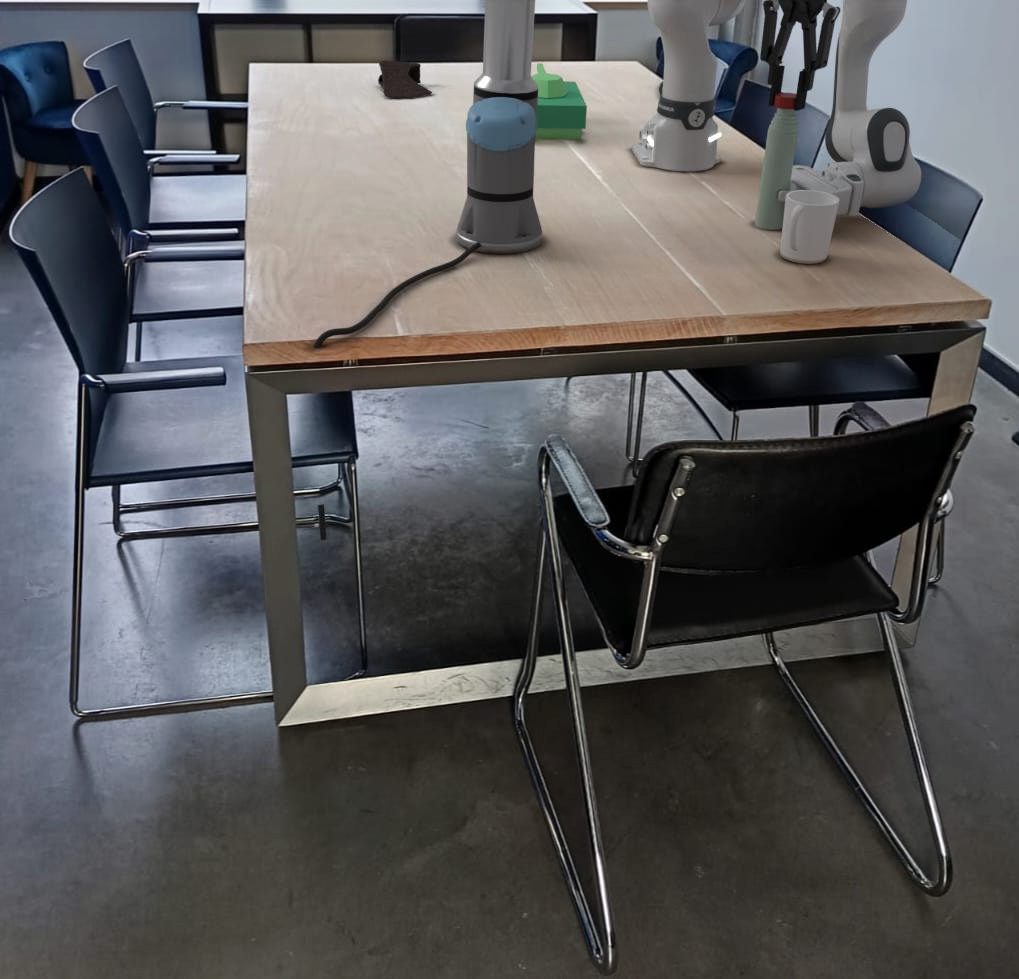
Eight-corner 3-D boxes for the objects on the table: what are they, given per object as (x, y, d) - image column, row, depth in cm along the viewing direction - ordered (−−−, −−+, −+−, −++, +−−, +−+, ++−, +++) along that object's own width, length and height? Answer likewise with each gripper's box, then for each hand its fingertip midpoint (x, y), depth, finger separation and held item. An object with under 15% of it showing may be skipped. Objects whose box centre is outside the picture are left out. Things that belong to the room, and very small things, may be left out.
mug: (791, 244, 197) (800, 186, 191) (837, 255, 192) (848, 197, 187) (762, 259, 190) (770, 200, 184) (809, 271, 185) (819, 211, 179)
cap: (790, 110, 192) (791, 99, 191) (768, 106, 195) (770, 94, 194) (804, 107, 195) (806, 95, 194) (783, 102, 198) (784, 91, 197)
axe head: (443, 87, 294) (392, 77, 287) (436, 115, 299) (385, 106, 292) (421, 62, 307) (371, 52, 300) (414, 89, 311) (365, 80, 304)
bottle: (762, 230, 204) (780, 101, 191) (750, 221, 208) (767, 94, 196) (788, 229, 205) (808, 100, 192) (776, 220, 209) (794, 94, 197)
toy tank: (573, 59, 279) (587, 89, 249) (570, 109, 285) (584, 143, 255) (503, 58, 278) (510, 87, 248) (502, 108, 284) (508, 142, 254)
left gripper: (750, -41, 185) (733, 102, 197) (846, -32, 176) (821, 118, 188) (771, -44, 190) (753, 96, 202) (866, -35, 181) (841, 111, 193)
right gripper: (813, 155, 213) (748, 158, 209) (868, 184, 196) (798, 188, 193) (808, 187, 216) (743, 191, 213) (861, 219, 199) (792, 223, 196)
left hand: (786, 106), depth 195 cm, fingers closed on cap, 4 cm apart
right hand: (770, 190), depth 203 cm, fingers closed on bottle, 5 cm apart
